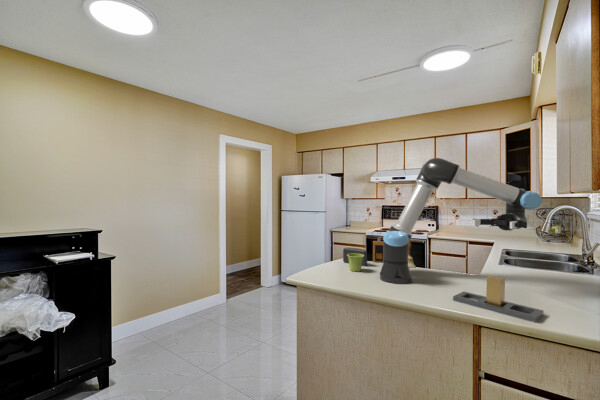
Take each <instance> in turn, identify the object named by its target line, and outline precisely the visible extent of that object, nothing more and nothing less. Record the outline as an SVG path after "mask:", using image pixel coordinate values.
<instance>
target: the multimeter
mask: <svg viewBox="0 0 600 400" xmlns="http://www.w3.org/2000/svg"><path fill="white" fill-rule="evenodd" d="M382 232H383V233H386V232H387V231H386V230H385V231H384V230H383V231H381V233H382ZM376 233H379V231H378V230H376ZM373 234H374V232H372V234H371V236H370V241H371V242H370V243H371V248H370V251H369V253H368V255H367V262H368V261H370V259H369V256H370V253H371V250H372V262H373V263H384V240H383V241H381V238H380V236H377V240H373V241H372V237H373ZM368 259H369V260H368Z"/></svg>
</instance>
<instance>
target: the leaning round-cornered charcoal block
mask: <svg viewBox="0 0 600 400" xmlns="http://www.w3.org/2000/svg"><path fill="white" fill-rule="evenodd" d="M352 253H355V254H362V255H364V257H363V260H362V266H361V267H366V266H367V265H368V260H367V259H368V251H367V250H365V249H362V248H356V247H344V248H343V250H342V256H343V257H342V258H343V259H342V261H343V263H345V264H349V259H348V256H347V254H352Z"/></svg>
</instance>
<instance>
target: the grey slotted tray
mask: <svg viewBox="0 0 600 400" xmlns="http://www.w3.org/2000/svg"><path fill="white" fill-rule="evenodd" d="M452 301H455V302H458V303H462V304H466V305H469V306H472V307H478V308H481V309H484V310H487V311H488V310H489V311H491V312H494V313H499V314H503V315H507V316H509V317H514V318H517V319H521V320H525V321H528V322H533V323H537V322H538V321H539V320H541V318H542V317H543V316H544V310H543V309H539V308H535V307H530V306H526V305H521V304H519V303H514V302H509V301H506V300H505V306H503V307H500V306H496V305H492V304H488V303H486V296H485V295H480V294H476V293H471V292H468V291H461V292H460V293H457V294H455V295H453V296H452Z"/></svg>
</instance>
